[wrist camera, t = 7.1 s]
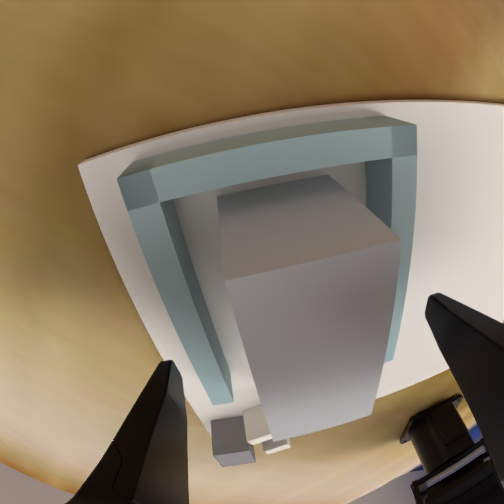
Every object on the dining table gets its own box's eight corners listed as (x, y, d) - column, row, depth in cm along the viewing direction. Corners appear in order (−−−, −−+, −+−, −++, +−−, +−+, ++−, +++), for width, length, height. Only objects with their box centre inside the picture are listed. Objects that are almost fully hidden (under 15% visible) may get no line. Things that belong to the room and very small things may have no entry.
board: (486, 340, 20) (491, 346, 20) (211, 428, 20) (212, 437, 19) (538, 108, 11) (548, 111, 10) (85, 159, 10) (77, 165, 9)
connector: (327, 174, 11) (401, 239, 7) (334, 363, 16) (364, 439, 12) (216, 196, 11) (224, 281, 6) (263, 381, 16) (280, 462, 12)
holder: (385, 115, 10) (416, 124, 8) (377, 333, 16) (392, 359, 14) (132, 161, 10) (116, 178, 8) (211, 373, 15) (213, 405, 14)
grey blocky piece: (310, 416, 19) (319, 447, 17) (219, 434, 19) (222, 466, 17) (307, 378, 17) (319, 415, 14) (198, 400, 16) (199, 438, 14)
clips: (320, 414, 19) (328, 440, 17) (250, 429, 19) (254, 456, 17) (319, 377, 17) (330, 407, 15) (236, 395, 17) (240, 428, 15)
